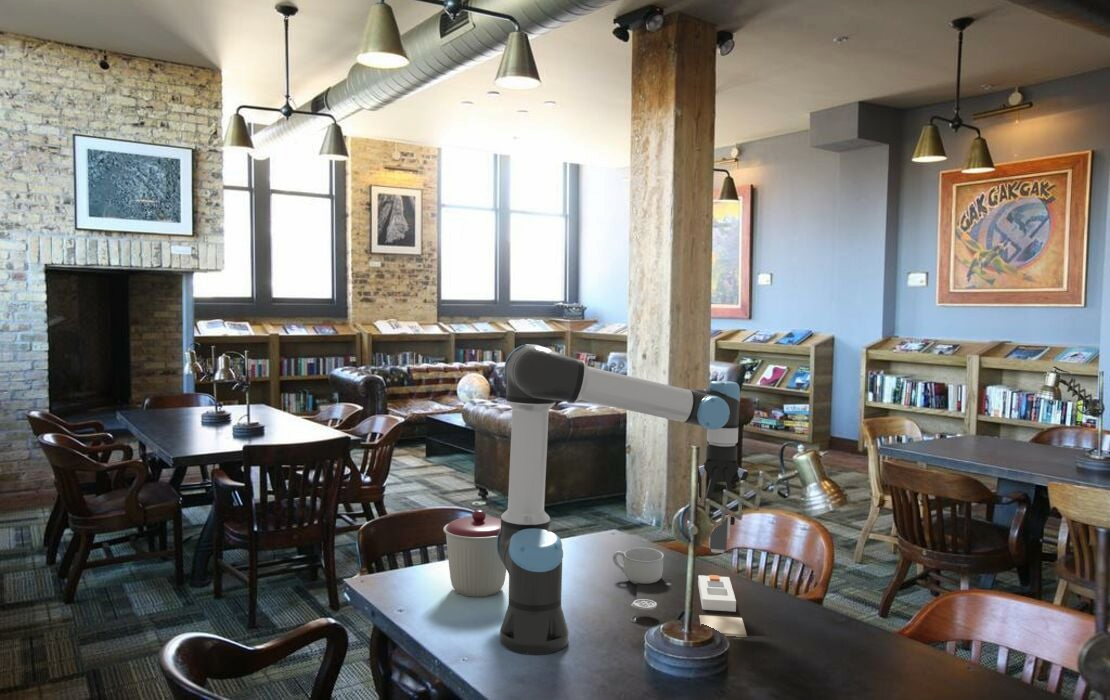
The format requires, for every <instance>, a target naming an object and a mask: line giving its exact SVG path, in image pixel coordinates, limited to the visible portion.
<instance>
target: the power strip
mask: <svg viewBox="0 0 1110 700" xmlns="http://www.w3.org/2000/svg"><path fill="white" fill-rule="evenodd" d="M697 577H698V578H697V579H698V580H697V585H698V590H699V597H700V602H701V603H700V604H701V609H702V610H705V611H707V610H708V611H720V612H721V611H722V612H735V613H736V612H737V600H736V596H735V592H734V589H733V586H732V582H731V579H730V576H720V575H718V574H717V575H715V574H709V575H703V574H701V575H700V574H699V575H698V576H697Z"/></svg>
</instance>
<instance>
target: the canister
mask: <svg viewBox="0 0 1110 700" xmlns="http://www.w3.org/2000/svg"><path fill="white" fill-rule="evenodd" d="M442 529H443V533H444V534H445V537H446V538H445V539H446V549H447V558H448V568H449V576H450V583H451V586H452V588H453V590H454V591H455V592H456V593H458V594H460V595H462V596H464V597H465V596H466V597H472V598H473V597H474V598H482V597H488V596H492V595H495V594H497V593H499V592H500V591H501V590H502V588H503V586H505V585H504V584H505V581H506V575H507V569H506V567H505V566H504V564H503V562H502V561H501V559H500V557H499V555H498V552H497V537H498V534H499V531H500V530H501V518H498V517H492V516H487V513H486V511H484V510H482V509H475V510H474V511H473V512H472V515H471V516H466V517H460V518H457V519H456V518H455V519H454V520H452V521H451V522H449V523H447V524H446V525H444V526H443V528H442Z"/></svg>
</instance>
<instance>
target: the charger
mask: <svg viewBox="0 0 1110 700" xmlns="http://www.w3.org/2000/svg"><path fill="white" fill-rule="evenodd" d="M727 524H728V518H726V520H725V521H724V523H723V524H722V525H720V526H718V527H716V528H715V529H714V531H713V532H712V534H711V536H710V538H708V548H709V550H711V553H716V554H718V553H719V554H720V553H721V554H724V553H725V551H727V546H728V545H727V543H728V539H727Z"/></svg>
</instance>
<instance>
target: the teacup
mask: <svg viewBox="0 0 1110 700" xmlns="http://www.w3.org/2000/svg"><path fill="white" fill-rule="evenodd" d="M618 555H619V556H621V557H622V560H623V564H621V563H620V561H618V558H617V556H618ZM664 558H665V555H664V553H663V552H662V551H660V550H658V549H655V548H651V547H633V548H629V549H627V550H625V551H622V550H617V551H615V552H614V553H613V555H612V561H613V563H614V565H615V566H617V568H619V569H620V570H621V571H622V573H624V575H625V577H626V579H627V580H629V581H630V583H632V584H634V585H636V586H637V585H638V584H642V585H643V584H645V585H646V584H654V583H657V582H658V581H660V580H661V578H662V576H663V571H664Z"/></svg>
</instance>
